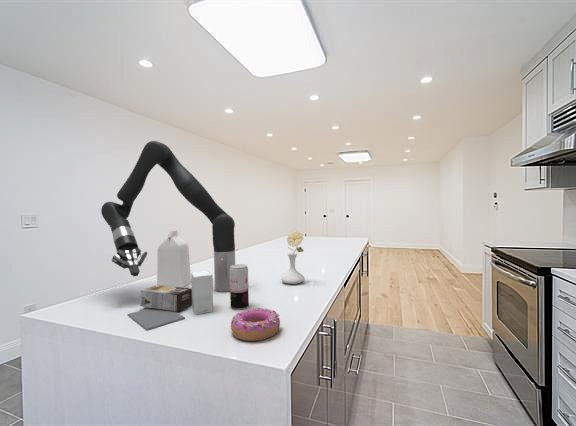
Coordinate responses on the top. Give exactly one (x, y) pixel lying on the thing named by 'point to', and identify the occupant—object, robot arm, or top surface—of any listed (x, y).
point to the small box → (202, 292)
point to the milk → (173, 262)
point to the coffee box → (166, 297)
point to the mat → (155, 317)
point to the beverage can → (239, 286)
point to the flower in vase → (293, 259)
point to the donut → (255, 324)
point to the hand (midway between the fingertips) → (136, 274)
